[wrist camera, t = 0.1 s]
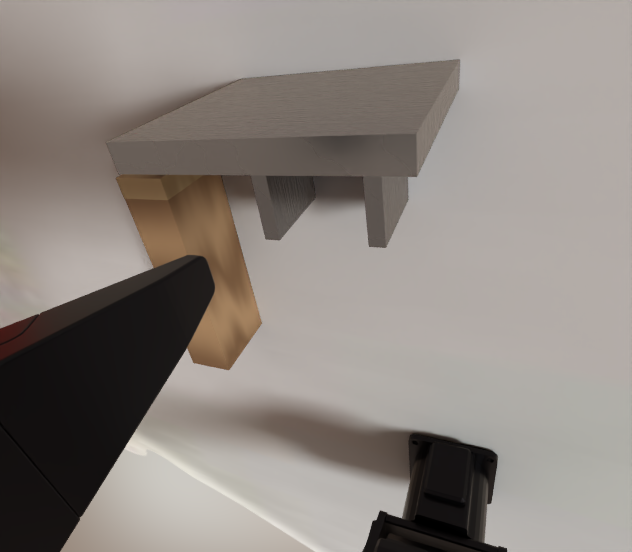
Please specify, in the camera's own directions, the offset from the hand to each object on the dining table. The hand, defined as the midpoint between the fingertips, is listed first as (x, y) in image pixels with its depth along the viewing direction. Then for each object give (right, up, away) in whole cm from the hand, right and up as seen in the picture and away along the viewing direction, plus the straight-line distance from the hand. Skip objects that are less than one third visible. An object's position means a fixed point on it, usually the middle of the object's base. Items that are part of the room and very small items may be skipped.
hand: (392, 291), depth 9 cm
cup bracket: (0, +7, +14) cm, 16 cm away
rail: (-8, +2, +22) cm, 23 cm away
